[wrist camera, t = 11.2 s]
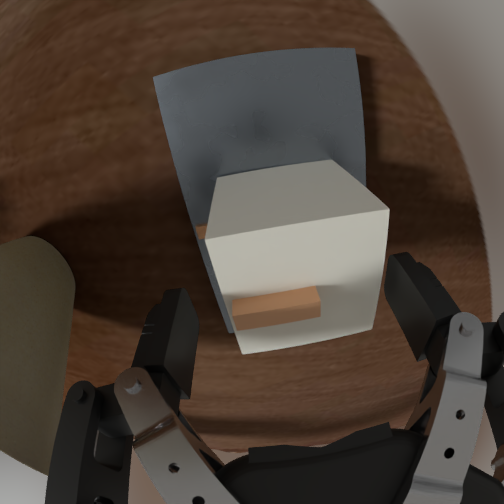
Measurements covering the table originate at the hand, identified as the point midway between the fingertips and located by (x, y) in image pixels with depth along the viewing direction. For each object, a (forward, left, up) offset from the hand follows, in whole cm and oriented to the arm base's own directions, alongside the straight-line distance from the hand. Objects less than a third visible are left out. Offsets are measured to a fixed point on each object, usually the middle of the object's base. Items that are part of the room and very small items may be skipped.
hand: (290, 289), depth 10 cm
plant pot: (-1, +20, -8) cm, 22 cm away
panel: (0, 0, -7) cm, 7 cm away
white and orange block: (0, 0, -6) cm, 6 cm away
